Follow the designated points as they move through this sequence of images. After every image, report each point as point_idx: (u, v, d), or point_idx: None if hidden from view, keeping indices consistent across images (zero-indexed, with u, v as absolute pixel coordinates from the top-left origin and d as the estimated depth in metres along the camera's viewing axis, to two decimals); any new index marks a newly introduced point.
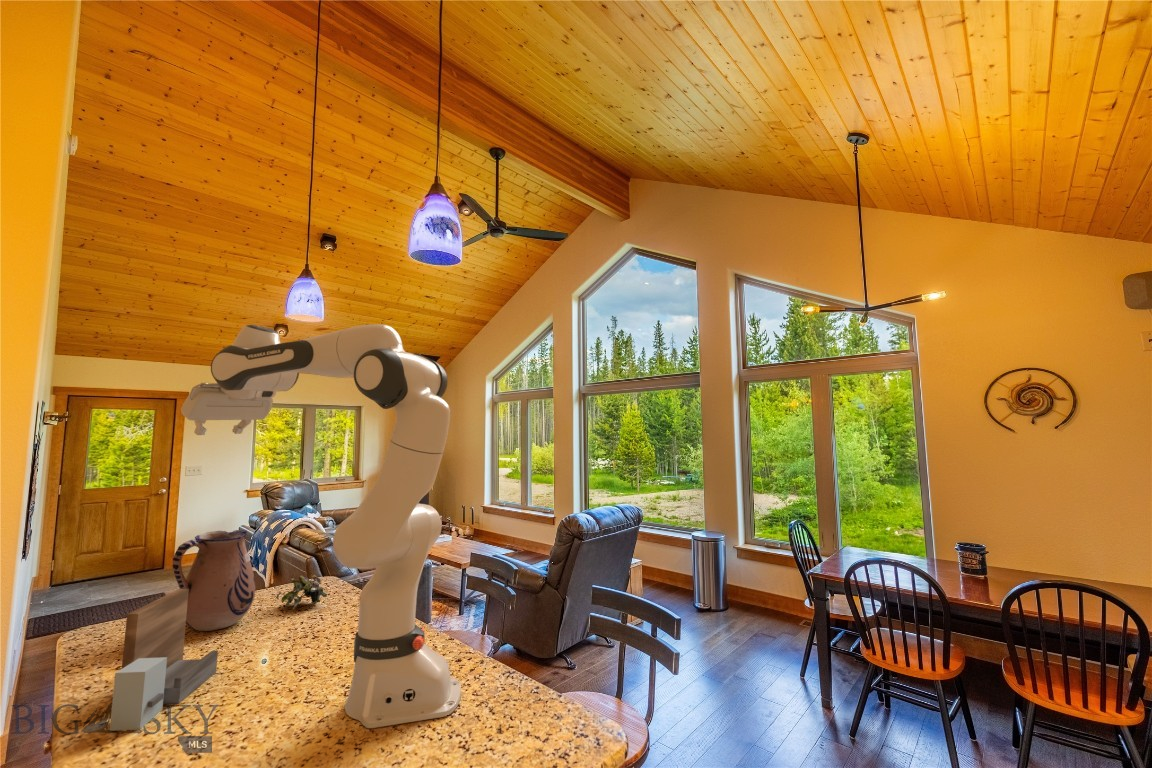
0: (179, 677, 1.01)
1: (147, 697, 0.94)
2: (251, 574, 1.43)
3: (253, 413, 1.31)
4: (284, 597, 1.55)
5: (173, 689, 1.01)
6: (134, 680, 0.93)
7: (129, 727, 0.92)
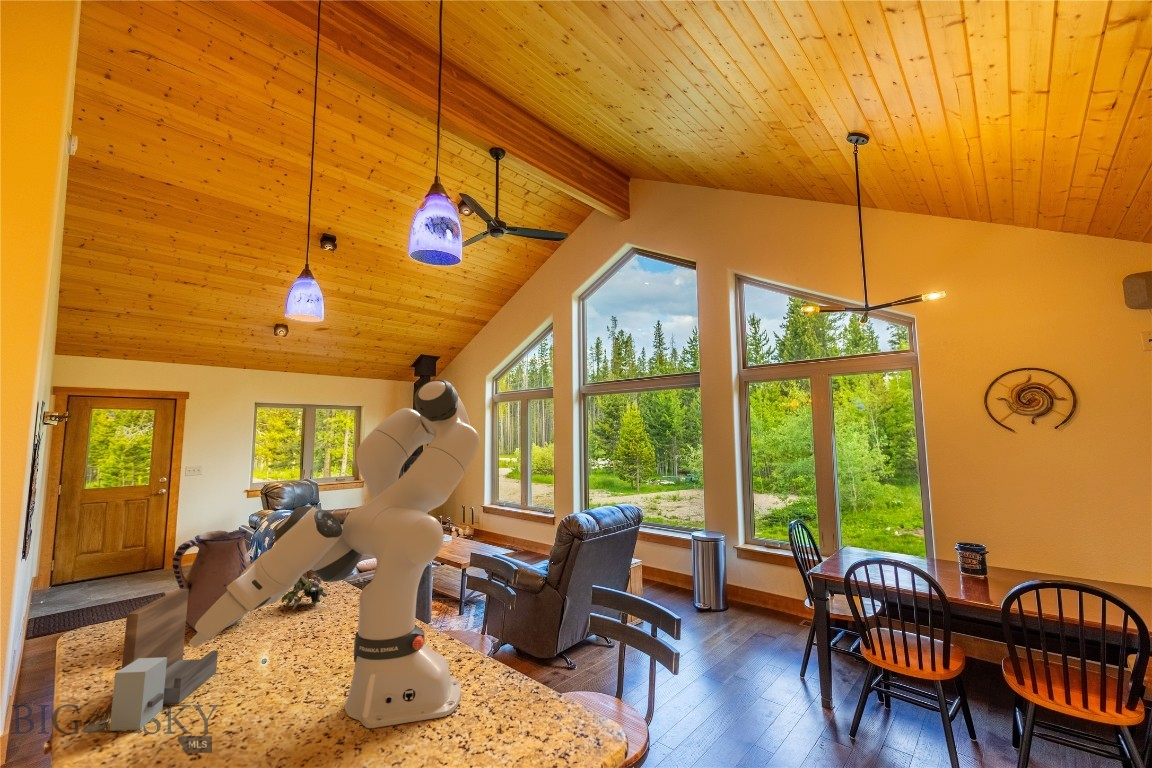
0: (179, 677, 1.01)
1: (147, 697, 0.94)
2: None
3: None
4: (284, 597, 1.55)
5: (173, 689, 1.01)
6: (134, 680, 0.93)
7: (129, 727, 0.92)
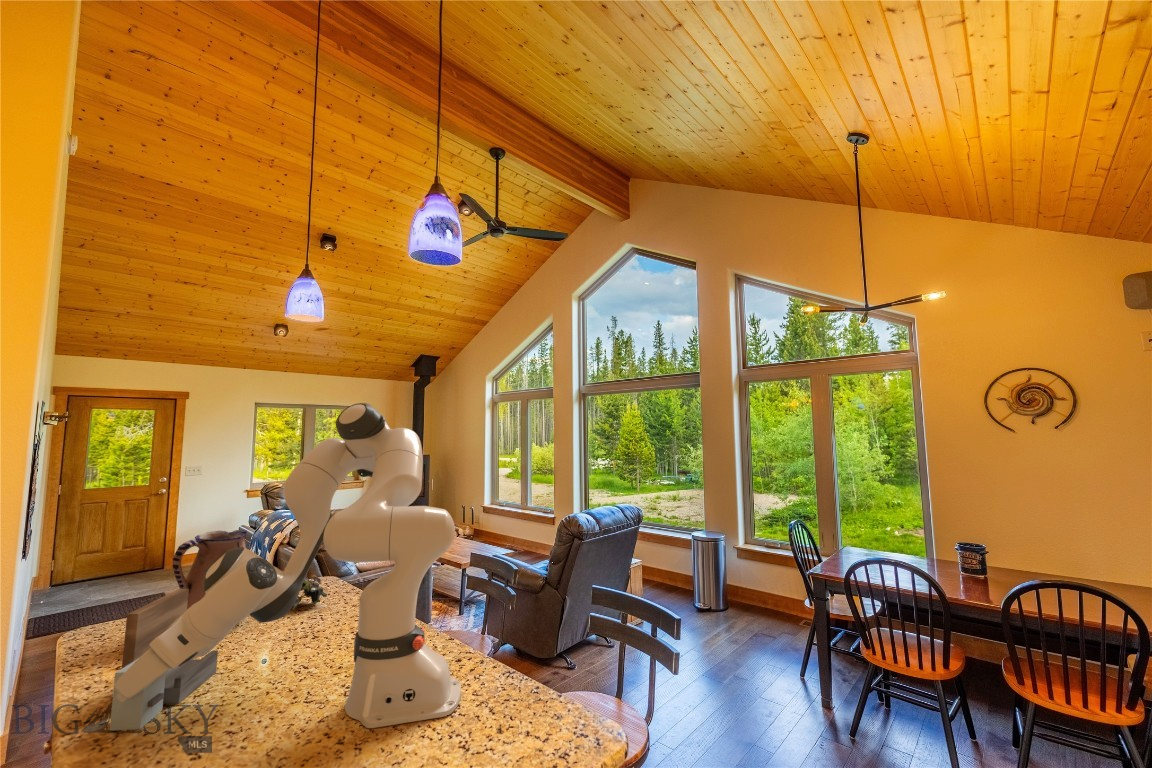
0: (179, 677, 1.01)
1: (147, 697, 0.94)
2: None
3: None
4: None
5: (173, 689, 1.01)
6: None
7: (129, 727, 0.92)
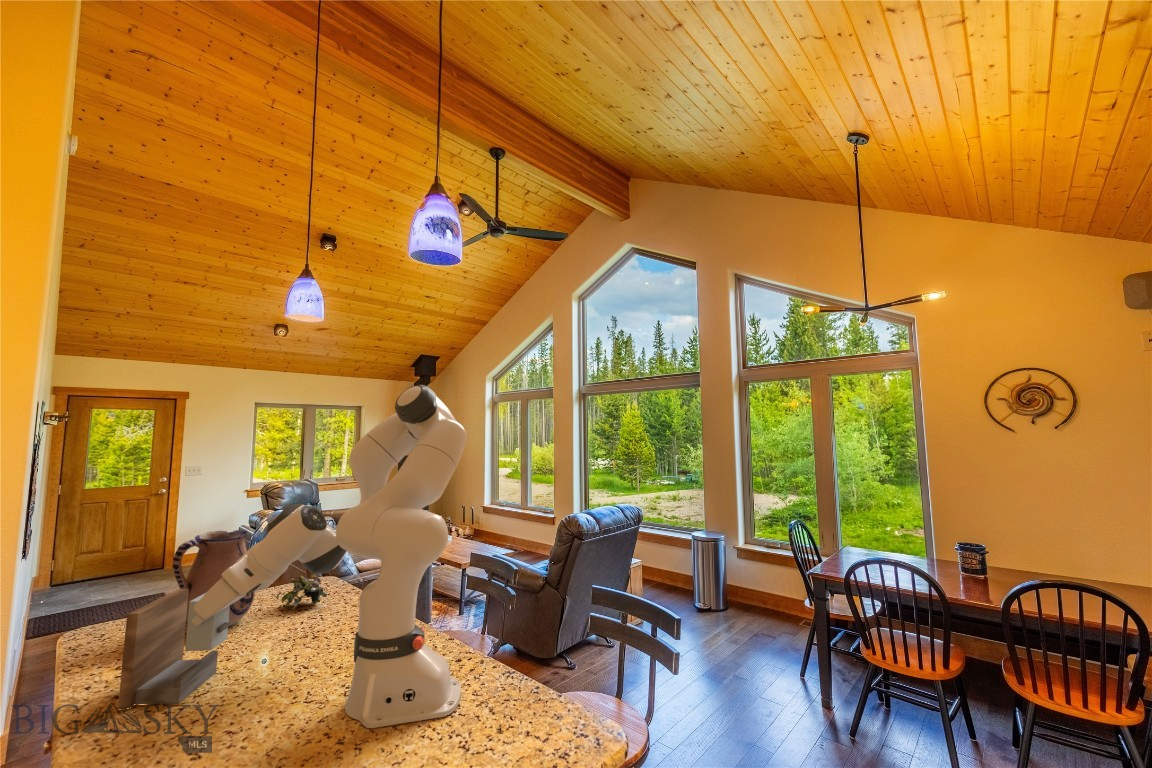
0: (179, 677, 1.01)
1: (216, 623, 1.07)
2: None
3: None
4: (284, 597, 1.55)
5: (173, 689, 1.01)
6: None
7: (202, 648, 1.05)
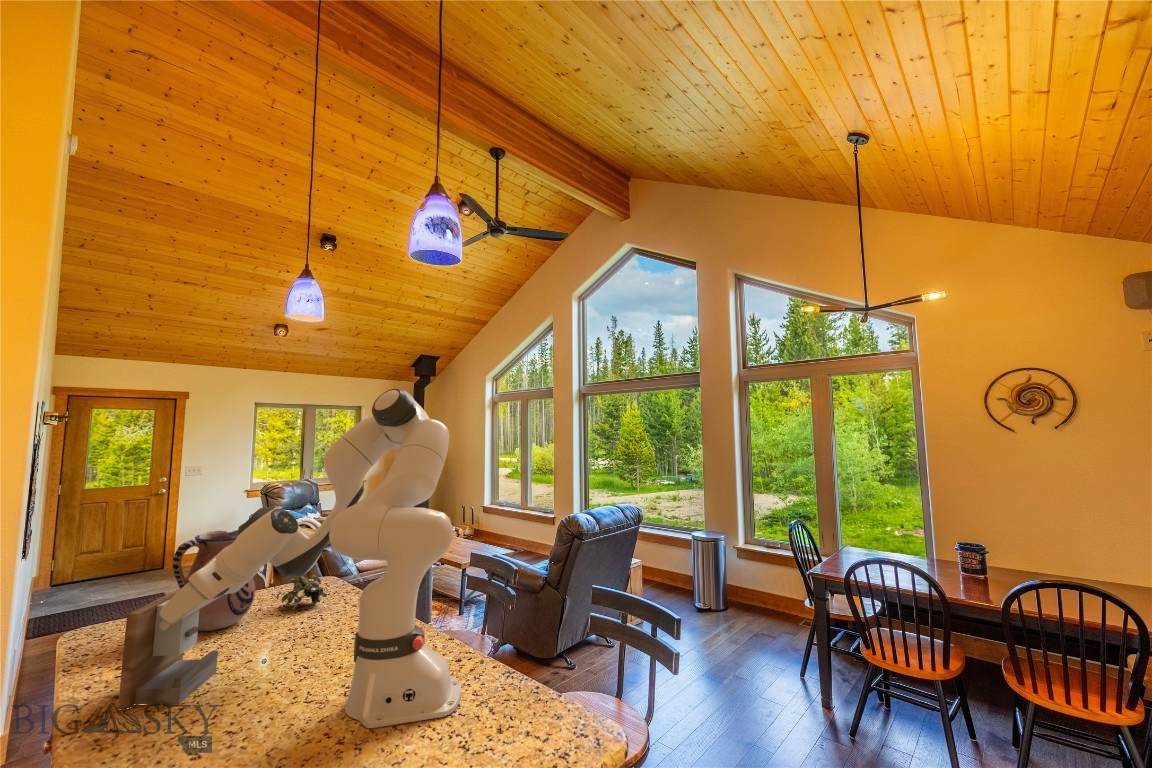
0: (179, 677, 1.01)
1: (185, 628, 1.06)
2: None
3: None
4: (284, 597, 1.55)
5: (173, 689, 1.01)
6: None
7: (169, 653, 1.04)
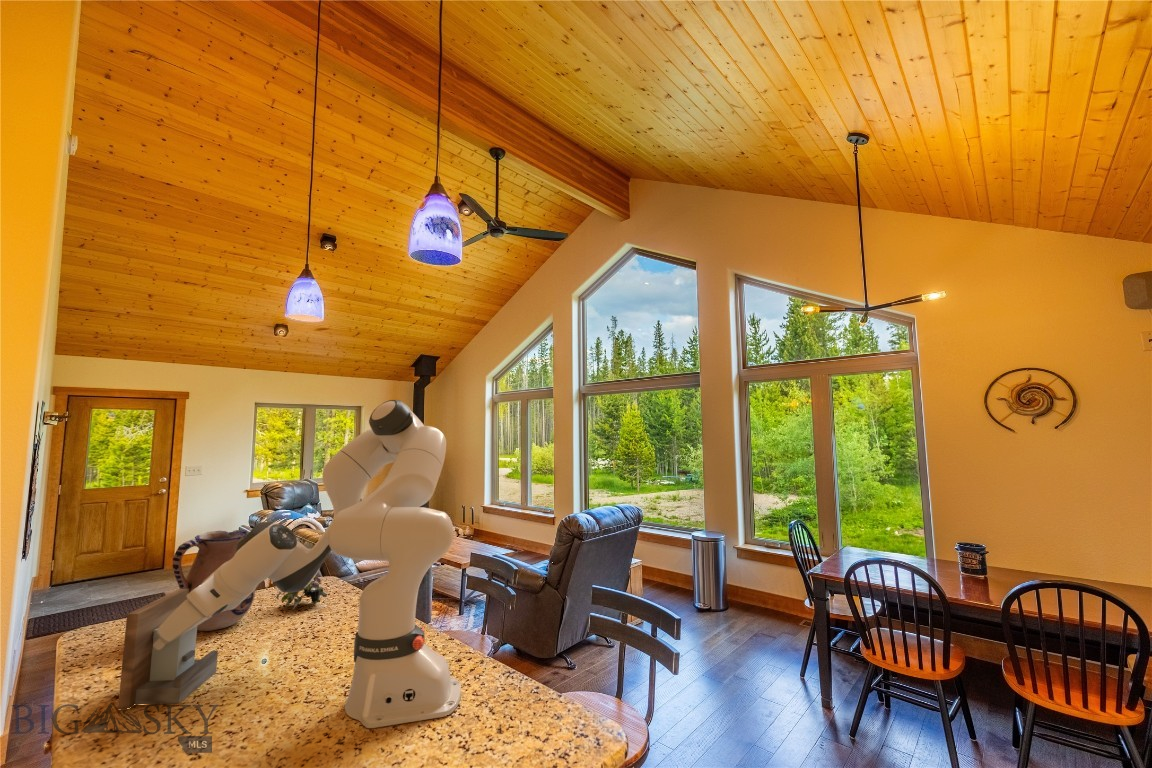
0: (179, 677, 1.01)
1: (182, 652, 1.06)
2: None
3: None
4: (284, 597, 1.55)
5: (173, 689, 1.01)
6: None
7: (166, 678, 1.04)
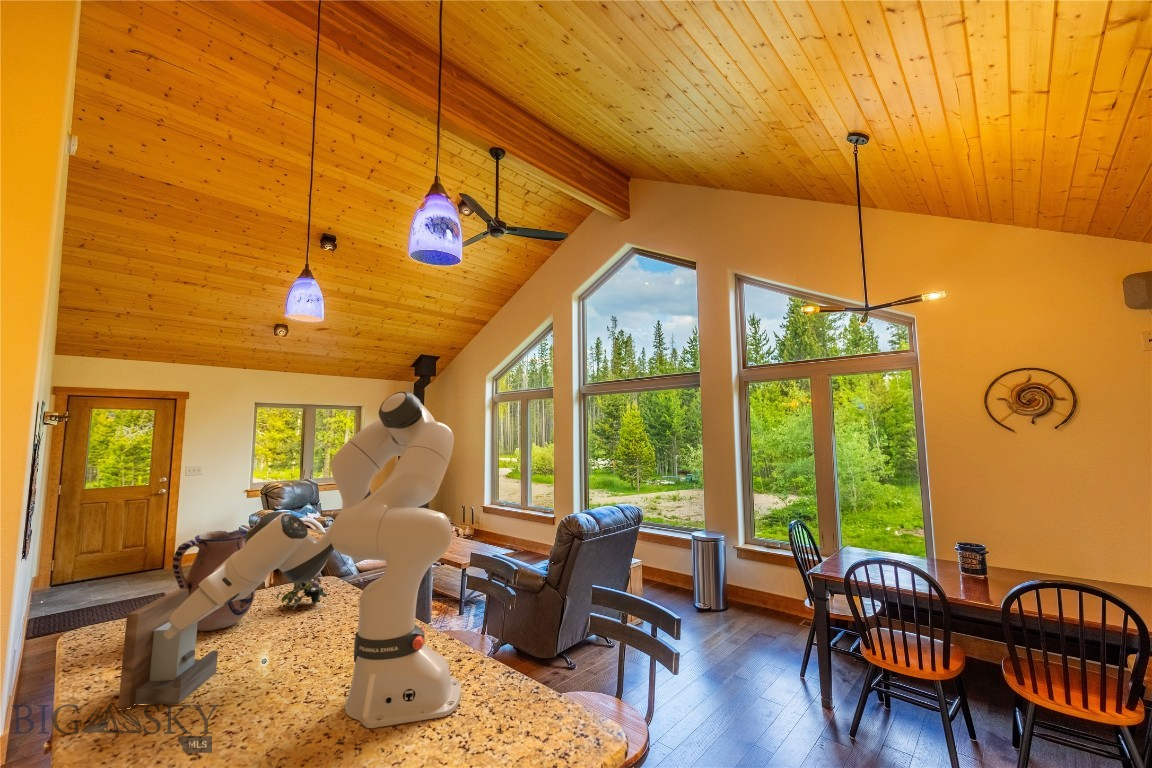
0: (179, 677, 1.01)
1: (182, 652, 1.06)
2: None
3: None
4: (284, 597, 1.55)
5: (173, 689, 1.01)
6: None
7: (166, 678, 1.04)
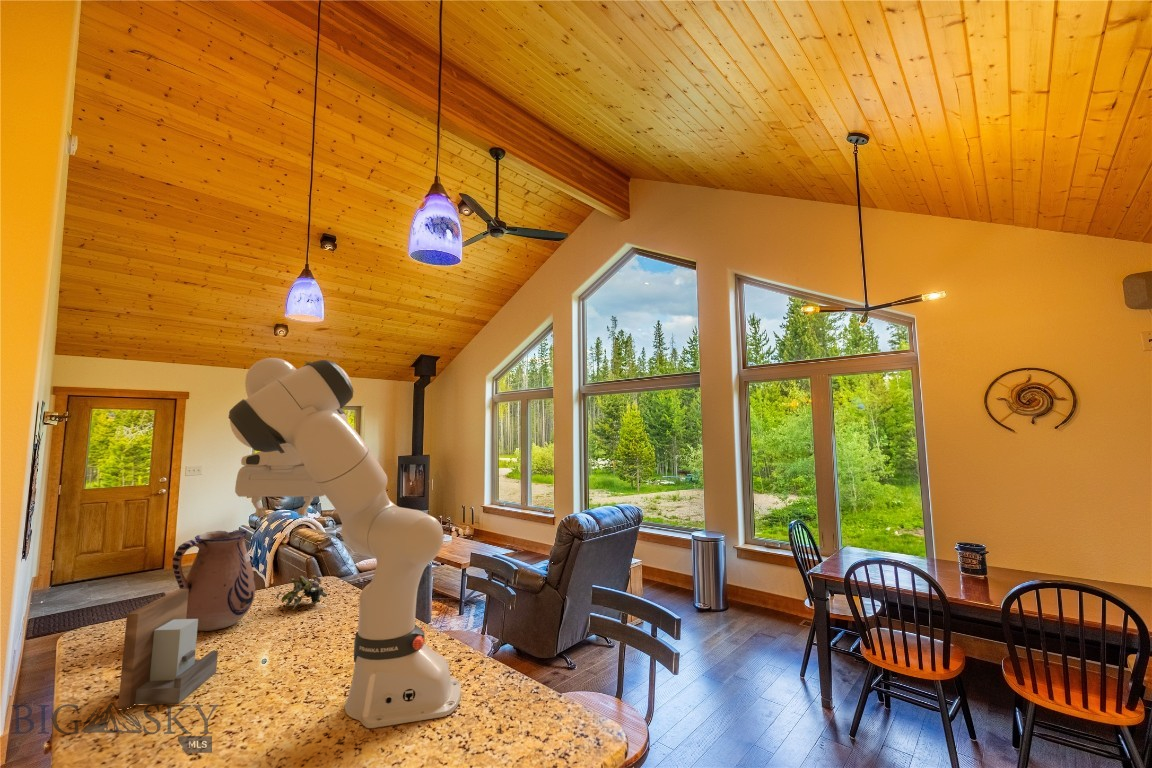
0: (179, 677, 1.01)
1: (182, 652, 1.06)
2: (251, 574, 1.43)
3: None
4: (284, 597, 1.55)
5: (173, 689, 1.01)
6: (170, 636, 1.04)
7: (166, 678, 1.04)
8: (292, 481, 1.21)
